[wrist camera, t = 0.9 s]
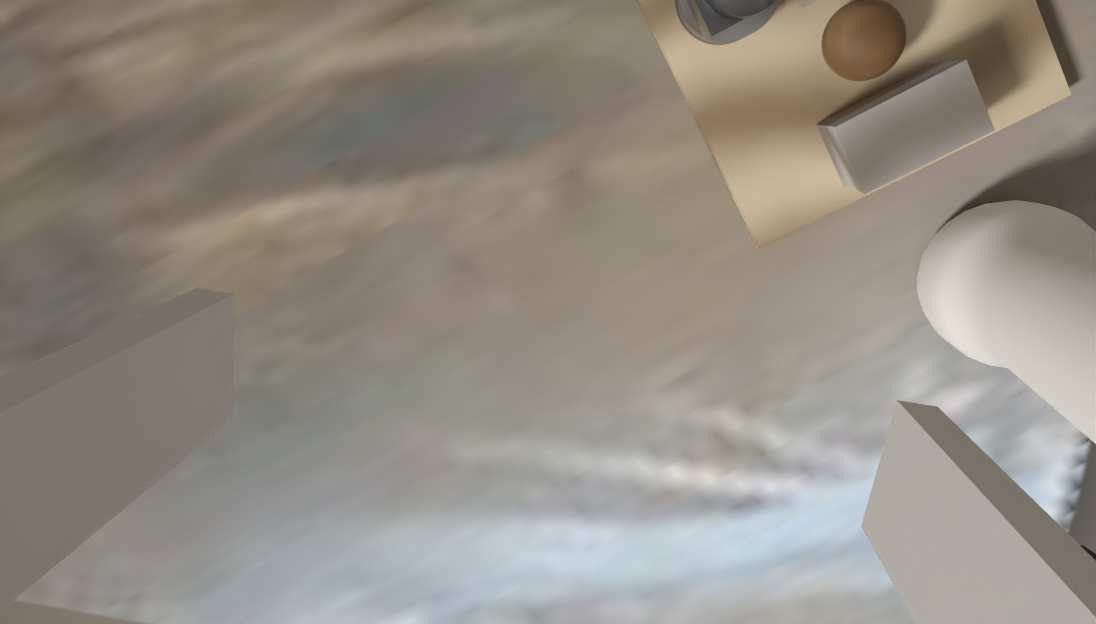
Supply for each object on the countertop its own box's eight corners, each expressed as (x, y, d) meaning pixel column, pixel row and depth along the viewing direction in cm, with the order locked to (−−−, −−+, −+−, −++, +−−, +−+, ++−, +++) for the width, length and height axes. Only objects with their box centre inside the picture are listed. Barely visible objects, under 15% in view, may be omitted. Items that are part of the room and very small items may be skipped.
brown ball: (800, 27, 37) (819, 20, 34) (872, -12, 36) (899, -24, 33) (831, 95, 38) (852, 95, 34) (902, 58, 37) (931, 54, 34)
